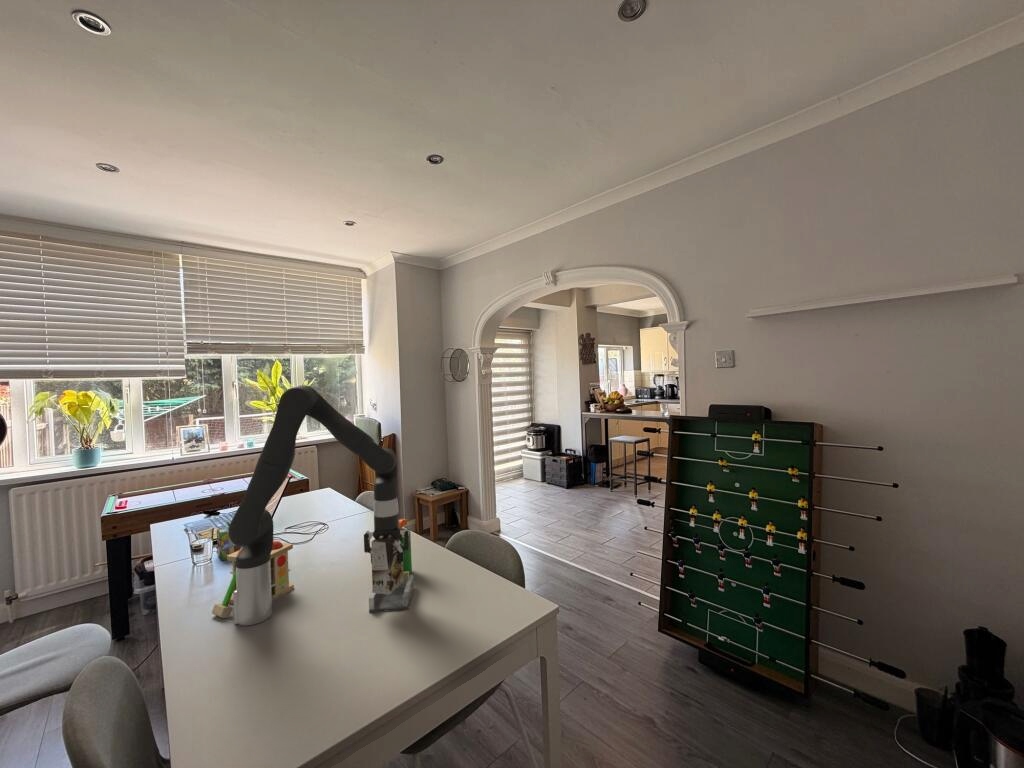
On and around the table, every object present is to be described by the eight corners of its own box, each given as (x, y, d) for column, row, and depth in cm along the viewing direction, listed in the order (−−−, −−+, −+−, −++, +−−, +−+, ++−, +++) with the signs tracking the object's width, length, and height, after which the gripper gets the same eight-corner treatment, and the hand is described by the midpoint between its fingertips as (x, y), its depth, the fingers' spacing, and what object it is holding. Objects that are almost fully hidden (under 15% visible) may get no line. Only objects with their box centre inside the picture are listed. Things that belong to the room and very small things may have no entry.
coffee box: (390, 595, 129) (389, 542, 129) (371, 593, 130) (370, 541, 130) (404, 581, 138) (402, 531, 137) (386, 579, 139) (384, 530, 139)
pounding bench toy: (234, 624, 128) (233, 565, 128) (200, 617, 132) (199, 560, 132) (295, 588, 150) (293, 538, 149) (264, 583, 154) (262, 534, 154)
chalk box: (246, 555, 180) (245, 520, 180) (221, 561, 174) (220, 526, 174) (241, 549, 187) (241, 515, 187) (217, 555, 180) (215, 521, 180)
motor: (380, 576, 157) (379, 522, 157) (397, 566, 165) (396, 515, 165) (401, 581, 152) (399, 526, 152) (417, 571, 160) (416, 519, 160)
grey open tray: (369, 612, 132) (368, 593, 132) (378, 590, 146) (378, 573, 146) (407, 609, 133) (407, 590, 133) (413, 587, 147) (413, 570, 147)
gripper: (359, 517, 129) (361, 570, 129) (407, 514, 131) (408, 567, 131) (365, 510, 137) (367, 560, 137) (410, 507, 138) (412, 557, 138)
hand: (387, 563), depth 134 cm, fingers closed on coffee box, 7 cm apart
